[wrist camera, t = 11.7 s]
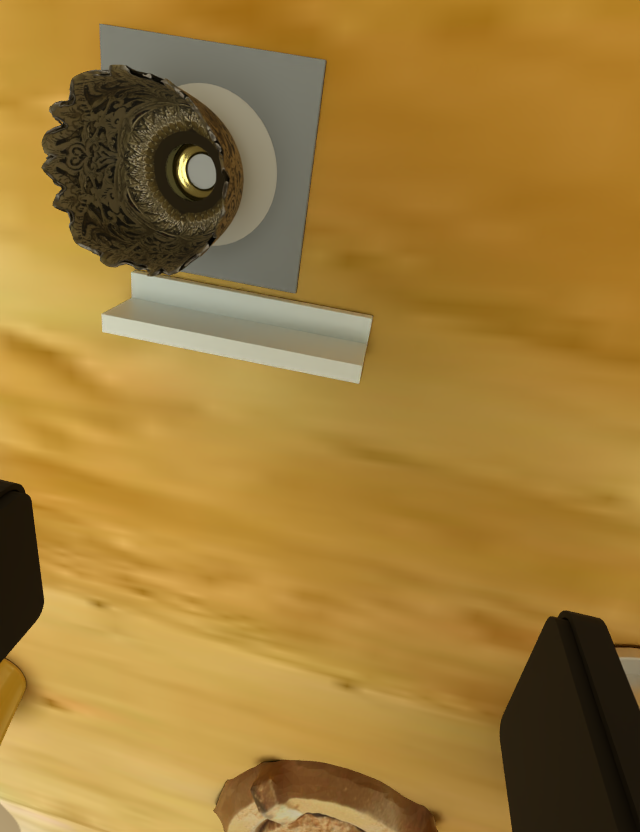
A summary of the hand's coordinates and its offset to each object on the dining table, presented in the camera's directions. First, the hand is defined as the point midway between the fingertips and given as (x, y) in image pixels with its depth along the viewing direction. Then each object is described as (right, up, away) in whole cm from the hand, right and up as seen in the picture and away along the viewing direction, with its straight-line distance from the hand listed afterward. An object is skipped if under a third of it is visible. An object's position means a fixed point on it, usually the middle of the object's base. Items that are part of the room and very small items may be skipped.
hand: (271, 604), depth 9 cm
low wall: (-3, +9, +22) cm, 24 cm away
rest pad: (-5, +16, +18) cm, 25 cm away
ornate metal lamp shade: (-5, +16, +18) cm, 25 cm away
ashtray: (+2, -39, +46) cm, 60 cm away
